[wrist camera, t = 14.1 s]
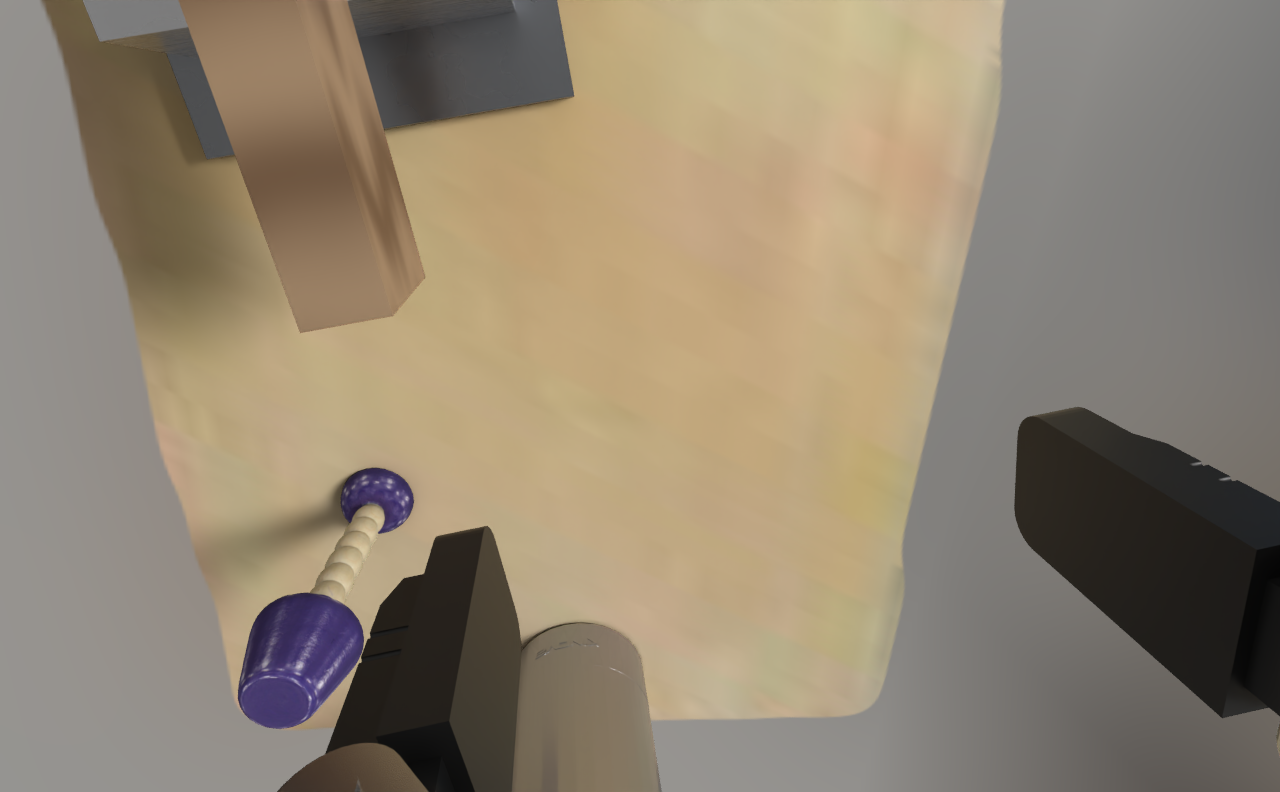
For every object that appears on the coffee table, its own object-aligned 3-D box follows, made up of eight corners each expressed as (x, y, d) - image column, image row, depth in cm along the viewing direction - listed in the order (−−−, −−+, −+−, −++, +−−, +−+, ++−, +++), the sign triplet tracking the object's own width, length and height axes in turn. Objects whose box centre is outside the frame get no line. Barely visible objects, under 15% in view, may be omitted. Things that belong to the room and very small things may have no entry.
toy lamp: (324, 474, 41) (185, 684, 26) (396, 447, 41) (300, 642, 26) (363, 537, 43) (255, 768, 28) (432, 511, 43) (362, 729, 28)
